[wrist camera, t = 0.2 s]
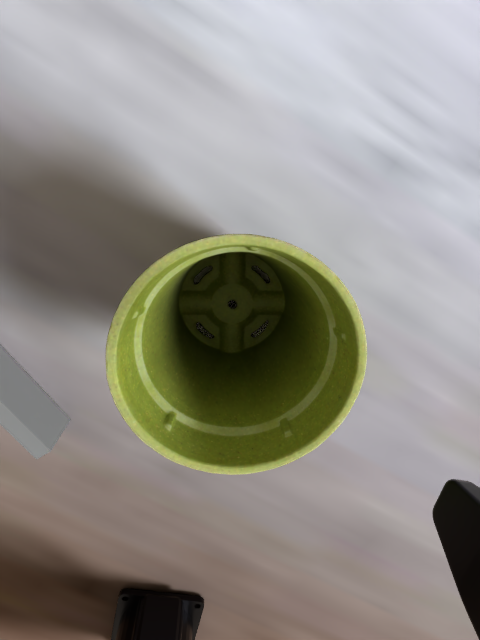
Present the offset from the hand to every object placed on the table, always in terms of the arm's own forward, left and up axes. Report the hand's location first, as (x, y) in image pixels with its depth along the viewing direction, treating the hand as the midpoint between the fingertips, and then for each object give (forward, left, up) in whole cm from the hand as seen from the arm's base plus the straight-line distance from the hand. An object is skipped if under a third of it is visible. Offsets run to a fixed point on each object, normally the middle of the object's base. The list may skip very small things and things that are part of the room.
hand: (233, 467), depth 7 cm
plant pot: (-1, -1, -15) cm, 15 cm away
